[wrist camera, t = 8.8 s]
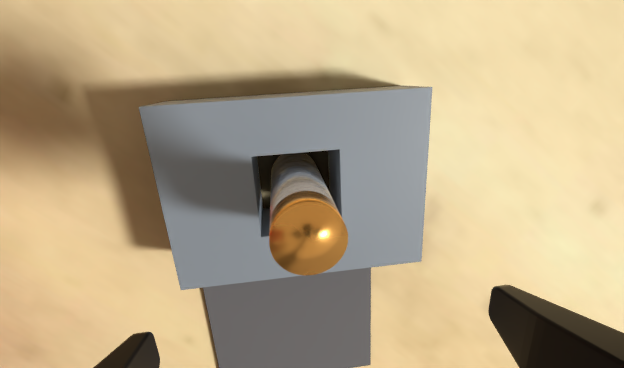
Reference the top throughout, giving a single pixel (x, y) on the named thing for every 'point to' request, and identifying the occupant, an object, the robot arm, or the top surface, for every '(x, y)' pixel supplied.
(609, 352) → the robot arm
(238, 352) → the mat
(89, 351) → the top surface
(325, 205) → the pin
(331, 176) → the hole block
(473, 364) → the top surface
